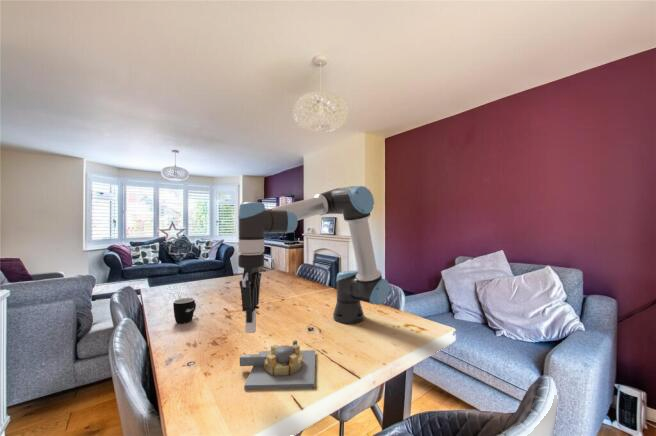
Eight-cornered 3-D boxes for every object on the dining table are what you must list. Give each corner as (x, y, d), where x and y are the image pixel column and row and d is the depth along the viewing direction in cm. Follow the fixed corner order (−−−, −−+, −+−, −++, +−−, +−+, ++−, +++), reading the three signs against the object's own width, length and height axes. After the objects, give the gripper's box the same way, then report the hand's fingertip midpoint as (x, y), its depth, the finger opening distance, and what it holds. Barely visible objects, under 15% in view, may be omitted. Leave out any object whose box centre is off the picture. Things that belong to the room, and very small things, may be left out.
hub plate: (315, 353, 97) (315, 335, 97) (314, 387, 77) (314, 365, 77) (259, 354, 97) (259, 336, 97) (244, 389, 77) (244, 367, 77)
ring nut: (303, 355, 93) (303, 342, 93) (301, 375, 81) (301, 360, 81) (245, 356, 93) (245, 343, 93) (234, 376, 81) (234, 361, 81)
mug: (185, 325, 123) (185, 303, 123) (168, 324, 125) (168, 302, 125) (202, 316, 135) (202, 296, 135) (187, 315, 137) (187, 295, 137)
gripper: (246, 251, 88) (246, 323, 87) (230, 255, 75) (229, 341, 74) (269, 251, 87) (268, 324, 87) (256, 256, 74) (255, 341, 74)
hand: (250, 331), depth 81 cm, fingers closed
